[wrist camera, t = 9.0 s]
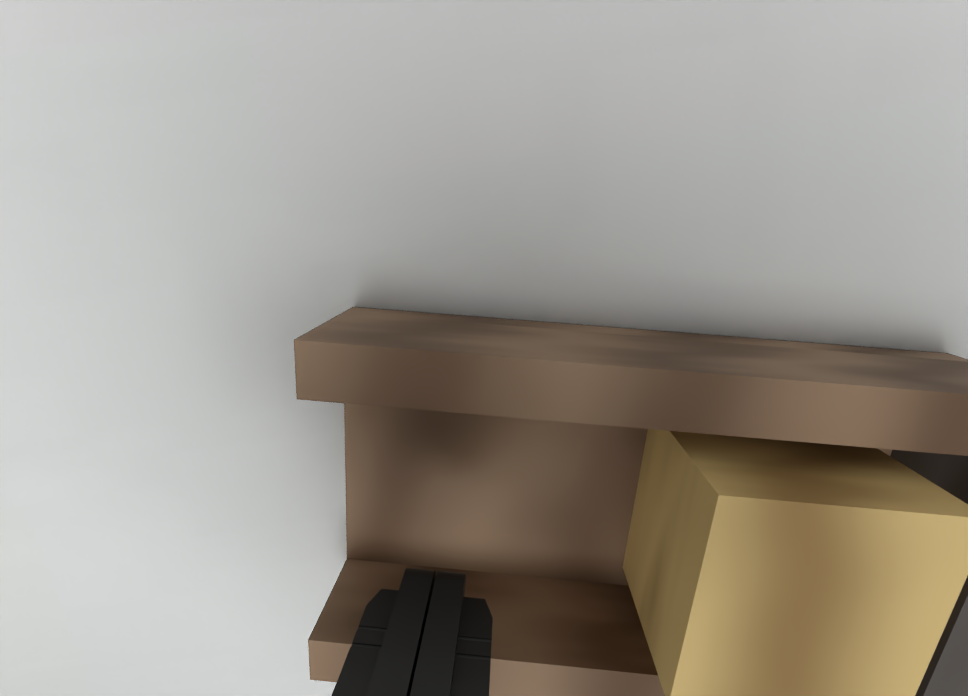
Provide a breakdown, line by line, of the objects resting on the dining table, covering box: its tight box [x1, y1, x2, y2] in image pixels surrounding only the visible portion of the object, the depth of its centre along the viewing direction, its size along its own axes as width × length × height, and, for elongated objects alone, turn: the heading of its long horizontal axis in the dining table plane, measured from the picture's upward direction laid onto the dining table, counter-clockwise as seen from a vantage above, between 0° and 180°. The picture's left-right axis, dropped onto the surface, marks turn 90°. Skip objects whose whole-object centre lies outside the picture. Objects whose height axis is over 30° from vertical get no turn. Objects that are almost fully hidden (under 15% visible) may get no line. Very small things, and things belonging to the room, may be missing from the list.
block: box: [623, 429, 968, 696], centre depth 13 cm, size 6×6×5 cm
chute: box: [294, 307, 968, 696], centre depth 15 cm, size 20×11×4 cm, turn 86°
